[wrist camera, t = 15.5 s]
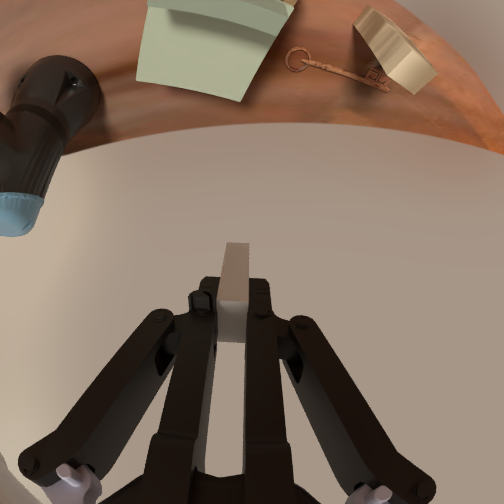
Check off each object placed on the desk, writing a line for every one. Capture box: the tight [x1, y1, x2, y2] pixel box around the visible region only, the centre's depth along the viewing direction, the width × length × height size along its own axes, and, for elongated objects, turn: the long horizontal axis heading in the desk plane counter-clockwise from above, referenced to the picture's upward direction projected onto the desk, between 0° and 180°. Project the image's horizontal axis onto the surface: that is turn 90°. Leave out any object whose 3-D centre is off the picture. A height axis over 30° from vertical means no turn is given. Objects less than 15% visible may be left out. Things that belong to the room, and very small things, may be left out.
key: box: [285, 47, 391, 93], centre depth 27 cm, size 6×1×15 cm
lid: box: [136, 0, 294, 102], centre depth 18 cm, size 12×13×5 cm
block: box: [353, 5, 438, 94], centre depth 17 cm, size 4×4×12 cm
